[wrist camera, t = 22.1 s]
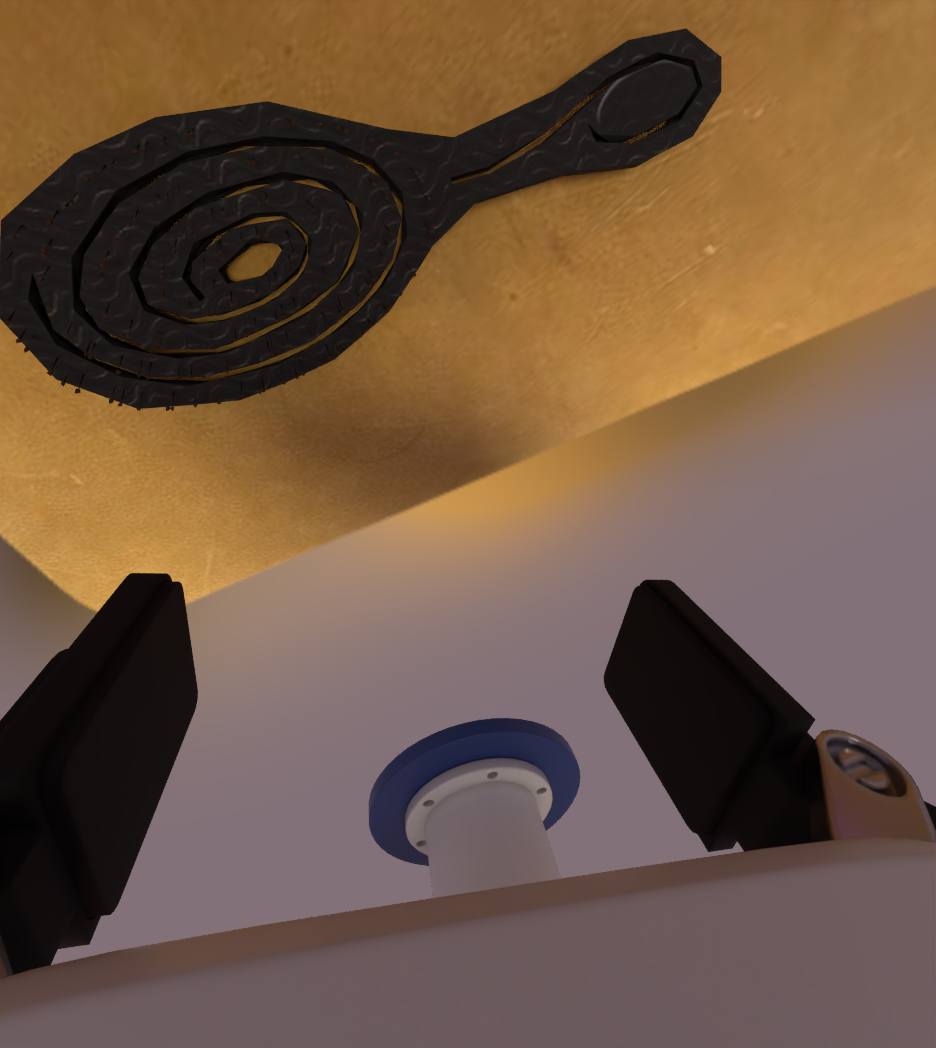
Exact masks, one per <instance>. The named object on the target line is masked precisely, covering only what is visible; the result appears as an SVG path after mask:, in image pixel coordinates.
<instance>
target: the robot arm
mask: <svg viewBox="0 0 936 1048" xmlns="http://www.w3.org/2000/svg"><path fill="white" fill-rule="evenodd" d="M604 684H605V688H606V690H607V692H608V694H609V695H610V697H611V699H612V700H613V702H614V704H615V705H616V707H617V709H618V710H619V712H620V714H621V715H622V717H623V719H624V721H625V722H626V724H627V726H628V727H629V729H630V731H631V732H632V734H633V736H634V737H635V739H636V741H637V742H638V744H639V746H640V747H641V749H642V751H643V752H644V754H645V756H646V757H647V759H648V761H649V762H650V764H651V766H652V767H653V769H654V771H655V773H656V774H657V776H658V777H659V779H660V781H661V783H662V784H663V786H664V788H665V789H666V791H667V793H668V794H669V796H670V797H671V799H672V801H673V803H674V804H675V806H676V808H677V809H678V811H679V813H680V814H681V816H682V818H683V819H684V821H685V823H686V824H687V826H688V827H689V828H690V830H691V831H693V832H694V833H696V834H698V835H699V837H700V839H701V841H702V842H703V844H704V845H705V847H706V849H707V850H708V852H711V851H718V850H725V849H732V848H733V847H734V845H735V843H736V842H737V841H738V843H739V844H740V846H741V847H742V849H743V850H744V852H739V853H732V854H724V855H718V856H711V857H704V858H697V859H691V860H683V861H676V862H669V863H663V864H656V865H649V866H643V867H636V868H629V869H622V870H615V871H609V872H602V873H595V874H589V875H582V876H576V877H569V878H563V879H561V876H560V873H559V870H558V867H557V864H556V861H555V858H554V855H553V852H552V849H551V846H550V843H549V840H548V837H547V834H546V830H545V827H544V824H543V820H544V819H545V818H546V816H547V814H548V812H549V810H550V808H551V804H552V800H553V798H552V790H551V787H550V784H549V782H548V779H547V777H546V776H545V774H544V773H543V772H542V771H541V770H540V769H539V768H538V767H536V766H535V765H532V764H530V763H528V762H526V761H522V760H518V759H513V758H487V759H481V760H476V761H471V762H468V763H465V764H462V765H458V766H456V767H454V768H452V769H449V770H447V771H445V772H443V773H441V774H440V775H438V776H436V777H435V778H433V779H432V780H430V781H429V782H428V783H427V784H425V785H424V786H423V787H422V788H421V789H420V790H419V791H418V792H417V793H416V794H415V796H414V797H413V798H412V800H411V802H410V803H409V805H408V807H407V810H406V814H405V828H406V834H407V838H408V840H409V842H410V843H411V845H412V846H413V847H415V848H416V849H417V850H418V851H420V852H422V853H424V854H426V855H428V860H429V869H430V878H431V886H432V895H433V898H431V899H425V900H419V901H412V902H406V903H400V904H393V905H387V906H382V907H375V908H369V909H362V910H355V911H349V912H343V913H337V914H330V915H325V916H317V917H311V918H305V919H298V920H292V921H286V922H280V923H274V924H267V925H261V926H254V927H249V928H243V929H237V930H232V931H226V932H220V933H215V934H209V935H203V936H197V937H192V938H187V939H181V940H175V941H169V942H163V943H158V944H152V945H146V946H141V947H135V948H129V949H124V950H118V951H113V952H108V953H104V954H99V955H95V956H90V957H86V958H81V959H77V960H73V961H68V962H63V963H59V964H55V965H51V963H52V961H53V958H54V956H55V954H56V952H57V950H58V949H61V948H68V947H74V946H82V945H88V944H90V941H91V939H92V937H93V934H94V932H95V929H96V927H97V925H98V922H99V920H100V917H101V916H103V915H111V914H112V912H114V910H115V908H116V907H117V905H118V903H119V901H120V899H121V896H122V893H123V891H124V888H125V886H126V883H127V881H128V879H129V876H130V873H131V870H132V868H133V866H134V863H135V861H136V858H137V856H138V853H139V851H140V848H141V846H142V843H143V841H144V838H145V835H146V833H147V830H148V828H149V825H150V823H151V820H152V818H153V815H154V813H155V810H156V808H157V805H158V803H159V800H160V798H161V795H162V793H163V790H164V787H165V785H166V782H167V780H168V777H169V775H170V772H171V769H172V767H173V765H174V762H175V760H176V757H177V755H178V752H179V750H180V747H181V744H182V742H183V739H184V737H185V734H186V732H187V729H188V727H189V724H190V722H191V719H192V717H193V714H194V712H195V708H196V704H197V697H198V689H197V682H196V675H195V668H194V661H193V655H192V647H191V640H190V634H189V627H188V620H187V613H186V606H185V599H184V592H183V587H182V584H181V583H180V582H172V579H171V577H170V575H168V574H155V573H132V574H129V575H128V576H127V577H126V578H125V579H124V581H123V582H122V583H121V584H120V585H119V587H118V588H117V589H116V590H115V592H114V593H113V594H112V595H111V597H110V598H109V599H108V600H107V602H106V603H105V604H104V605H103V607H102V608H101V609H100V610H99V611H98V613H97V614H96V615H95V617H94V618H93V619H92V620H91V621H90V623H89V624H88V625H87V626H86V628H85V629H84V630H83V631H82V632H81V634H80V635H79V636H78V637H77V639H76V640H75V641H74V642H73V644H72V645H71V646H70V647H69V649H65V650H63V651H61V652H59V653H58V654H57V655H55V657H53V658H52V659H51V661H50V662H49V663H48V664H47V665H46V666H45V668H44V669H43V670H42V671H41V672H40V674H39V675H38V676H37V677H36V678H35V680H34V681H33V682H32V683H31V684H30V686H29V687H28V688H27V689H26V691H25V692H24V693H23V694H22V695H21V697H20V698H19V699H18V700H17V701H16V703H15V704H14V705H13V706H12V707H11V709H10V710H9V711H8V712H7V714H6V715H5V716H4V717H3V718H2V719H1V721H0V1048H936V807H935V806H933V805H931V804H929V803H927V802H925V801H923V798H922V796H921V793H920V791H919V788H918V786H917V785H916V783H915V781H914V780H913V778H912V776H911V775H910V774H909V773H908V772H907V771H906V770H905V768H904V767H903V766H902V765H901V764H900V763H899V762H897V761H896V760H895V759H894V758H893V757H891V756H890V755H889V754H888V753H886V752H885V751H883V750H882V749H880V748H879V747H877V746H876V745H874V744H873V743H871V742H869V741H867V740H865V739H863V738H861V737H858V736H856V735H853V734H850V733H847V732H844V731H839V730H826V731H822V732H821V733H820V734H819V735H818V736H817V737H816V739H815V740H814V739H813V738H812V737H811V736H810V735H809V734H808V733H807V732H808V730H809V729H810V727H811V725H812V724H813V722H814V721H815V719H814V718H813V717H812V716H811V715H810V714H809V713H808V712H807V711H806V710H805V709H804V708H803V707H802V706H801V705H800V704H799V703H798V702H797V701H796V700H795V699H794V698H793V697H792V696H791V695H789V693H787V692H786V691H785V690H784V689H783V688H782V687H781V686H780V685H779V684H778V683H777V682H776V681H775V680H774V679H773V678H772V677H771V676H770V675H769V674H768V673H767V672H766V671H765V670H764V669H763V668H762V667H761V666H759V664H757V663H756V662H755V661H754V660H753V659H752V658H751V657H750V656H749V655H748V654H747V653H746V652H745V651H744V650H743V649H742V648H741V647H740V646H739V645H738V644H737V643H736V642H734V640H733V639H732V638H731V637H730V636H728V635H727V634H726V633H725V632H724V631H723V630H722V629H721V628H720V627H719V626H718V625H717V624H716V623H715V622H714V621H713V620H712V619H711V618H710V617H709V616H708V615H707V614H706V613H705V612H704V611H703V610H702V609H700V608H699V607H698V606H697V605H696V604H695V603H694V602H693V601H692V600H691V599H690V598H689V597H688V596H687V595H686V594H685V593H684V592H683V591H682V590H681V589H680V588H679V587H678V586H677V585H676V584H675V583H673V582H672V581H670V580H645V581H643V582H642V583H641V584H640V586H638V587H636V588H635V589H634V591H633V594H632V597H631V599H630V602H629V605H628V608H627V611H626V614H625V616H624V619H623V623H622V625H621V628H620V631H619V633H618V636H617V639H616V642H615V645H614V648H613V651H612V653H611V656H610V659H609V662H608V665H607V668H606V670H605V674H604Z"/></svg>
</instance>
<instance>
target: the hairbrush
mask: <svg viewBox="0 0 936 1048" xmlns="http://www.w3.org/2000/svg"><path fill="white" fill-rule="evenodd" d="M647 62H650V63H651V64H648V65H646V66H643V67H640V68H638V67H639V66H641V65H643V64H645V63H647ZM636 68H637V69H636ZM630 71H631V72H630ZM623 75H624V76H623ZM621 76H622V77H621ZM618 78H619V79H618ZM616 79H617V80H616ZM614 80H615V81H614ZM612 81H614V82H613V83H611V82H612ZM609 83H611V84H610V85H609V86H608V87H606V88H605V89H604V90H603V91H601V92H600V93H599V94H598V95H596V96H595V97H594V98H593V99H591V100H590V101H589V102H588V103H587V104H585V105H584V106H583V107H582V108H581V109H579V110H578V111H577V112H576V113H575V114H574V115H573V116H572V117H571V118H569V119H568V120H567V121H566V122H565V123H564V124H563V125H562V126H561V127H559V128H558V129H557V130H556V131H555V132H554V133H553V134H552V135H550V136H549V137H548V138H547V139H546V140H545V141H544V142H543V143H541V144H540V145H538V146H536V147H535V148H533V149H532V150H530V151H528V152H527V153H525V154H523V155H522V156H520V157H518V158H516V159H515V160H513V161H511V162H509V163H508V164H506V165H504V166H502V167H500V168H499V169H497V170H495V171H493V172H492V173H490V174H486V175H483V176H479V177H476V178H473V179H469V180H466V181H462V182H459V183H455V184H452V182H451V181H455V180H458V179H461V178H465V177H468V176H472V175H475V174H478V173H482V172H485V171H488V170H490V169H491V168H493V167H494V166H496V165H497V164H499V163H500V162H502V161H503V160H505V159H506V158H508V157H509V156H511V155H512V154H514V153H516V152H517V151H519V150H520V149H522V148H523V147H525V146H526V145H528V144H529V143H531V142H532V141H534V140H535V139H536V138H538V137H539V136H541V135H542V134H544V133H545V132H547V131H548V130H549V129H550V128H551V127H552V126H554V125H555V124H556V123H557V122H558V121H559V120H560V119H561V118H563V117H564V116H565V115H566V114H567V113H568V112H569V111H570V110H572V109H573V108H574V107H575V106H576V105H577V104H578V103H579V102H581V101H582V100H583V99H584V98H585V97H586V96H587V95H589V94H591V93H593V92H595V91H596V90H598V89H600V88H602V87H604V86H605V85H607V84H609ZM720 93H721V56H719V55H718V54H717V53H716V52H714V51H713V50H712V49H711V48H709V47H708V46H707V45H706V44H704V43H703V42H702V41H701V40H699V39H698V38H697V37H696V36H695V35H693V34H692V33H691V32H690V31H688V30H687V29H682V30H677V31H672V32H667V33H662V34H657V35H652V36H647V37H642V38H637V39H632V40H628V41H626V42H625V43H623V44H622V45H620V46H619V47H617V48H616V49H614V50H613V51H611V52H610V53H608V54H607V55H605V56H604V57H602V58H600V59H599V60H597V61H596V62H594V63H593V64H591V65H590V66H588V67H587V68H585V69H584V70H582V71H581V72H579V73H578V74H577V75H575V76H574V77H573V78H571V79H570V80H568V81H567V82H566V83H564V84H563V85H561V86H560V87H559V88H557V89H556V90H555V91H553V92H551V93H548V94H546V95H544V96H542V97H540V98H538V99H536V100H533V101H531V102H529V103H527V104H525V105H523V106H521V107H518V108H516V109H514V110H512V111H510V112H508V113H505V114H503V115H501V116H499V117H497V118H495V119H493V120H490V121H488V122H486V123H484V124H482V125H480V126H478V127H475V128H473V129H471V130H469V131H467V132H465V133H463V134H460V135H458V136H456V137H446V136H438V135H430V134H422V133H414V132H406V131H398V130H390V129H384V128H380V127H376V126H371V125H367V124H363V123H358V122H354V121H350V120H345V119H341V118H337V117H332V116H328V115H324V114H319V113H315V112H311V111H306V110H302V109H298V108H293V107H289V106H285V105H280V104H276V103H272V102H260V103H253V104H246V105H239V106H232V107H225V108H218V109H211V110H204V111H197V112H190V113H183V114H176V115H169V116H161V117H155V118H153V119H151V120H148V121H146V122H144V123H142V124H140V125H137V126H135V127H133V128H131V129H129V130H126V131H124V132H122V133H120V134H118V135H115V136H113V137H111V138H109V139H106V140H104V141H102V142H100V143H98V144H95V145H93V146H91V147H89V148H87V149H84V150H82V151H80V152H78V153H76V154H74V155H73V156H71V157H70V158H69V159H68V160H67V161H66V162H65V163H64V164H63V165H62V166H60V167H59V168H58V169H57V170H56V171H55V172H54V173H53V174H52V175H51V176H49V177H48V178H47V179H46V180H45V181H44V182H43V183H42V184H41V185H40V186H38V187H37V188H36V189H35V190H34V191H33V192H32V193H31V194H30V195H29V196H27V197H26V198H25V199H24V200H23V201H22V202H21V203H20V204H19V205H17V206H16V207H15V208H14V209H13V210H12V211H11V212H10V213H9V214H8V215H6V216H5V217H4V218H3V219H2V220H1V237H0V319H1V320H2V321H3V322H4V323H5V324H6V325H7V326H8V328H9V329H10V330H11V331H12V332H13V333H14V334H15V335H16V336H17V337H18V338H19V339H17V340H16V343H19V342H22V343H23V344H24V345H25V346H26V347H25V349H24V351H25V352H27V351H29V350H30V351H31V352H32V354H33V355H34V356H35V357H36V358H37V359H38V360H39V361H40V362H41V363H42V364H43V366H44V367H45V368H46V369H47V370H48V372H47V373H48V374H49V375H50V376H51V375H53V376H54V377H55V379H57V380H60V381H62V382H61V385H62V386H64V385H65V383H68V384H71V385H74V386H76V387H79V388H82V389H85V390H87V391H90V392H93V393H96V394H98V395H101V396H104V397H107V398H110V399H109V403H110V404H111V403H112V402H114V401H113V400H115V401H118V402H120V403H119V405H118V406H122V403H123V404H126V405H129V406H132V407H134V408H137V410H139V411H140V409H143V408H156V407H166V411H167V410H169V409H171V410H172V411H173V410H174V407H171V408H170V407H169V406H183V405H194V407H196V406H197V404H206V403H216V402H217V403H218V404H221V402H226V401H236V400H242V399H244V398H247V397H249V396H252V395H255V394H257V393H260V394H261V392H265V390H268V389H271V388H273V387H276V386H279V385H281V384H285V383H286V382H288V381H290V380H292V379H294V378H296V379H298V377H299V376H300V375H303V376H304V374H305V373H307V372H309V371H311V370H313V369H315V368H317V367H319V366H322V365H324V364H326V363H328V362H330V361H332V360H334V359H336V358H337V357H338V356H339V355H340V354H341V353H342V352H344V351H345V350H346V349H347V348H348V347H349V346H351V345H352V344H353V343H354V342H355V341H356V340H357V339H359V338H360V337H362V335H363V334H364V333H365V332H367V331H368V330H369V329H370V328H372V326H374V325H375V324H376V323H377V322H378V321H379V320H380V319H381V318H382V317H383V316H385V315H386V314H387V313H388V312H389V311H390V309H391V308H392V306H393V305H394V303H395V302H396V300H397V299H398V297H399V296H401V295H402V294H403V293H402V292H403V290H404V289H405V287H406V286H407V284H408V283H409V281H410V280H411V278H412V277H413V276H414V277H415V276H416V271H417V270H418V268H419V267H420V265H421V264H422V262H423V260H424V259H425V257H426V256H427V254H428V252H429V251H430V249H431V248H432V246H433V245H434V244H435V243H436V242H437V241H438V240H439V239H440V238H441V237H442V236H443V235H444V234H445V233H446V232H447V231H448V230H449V229H450V228H451V227H452V226H453V225H454V224H455V223H456V222H457V221H458V220H459V219H460V218H461V217H462V216H463V215H464V214H465V213H466V212H467V211H468V210H469V209H470V208H471V207H472V206H473V205H474V204H476V203H479V202H482V201H485V200H488V199H491V198H495V197H498V196H501V195H504V194H507V193H510V192H513V191H516V190H519V189H523V188H526V187H529V186H532V185H535V184H538V183H541V182H544V181H547V180H551V179H554V178H557V177H560V176H568V175H576V174H584V173H593V172H601V171H609V170H617V169H625V168H633V167H637V166H638V165H640V164H642V163H644V162H645V161H647V160H649V159H651V158H652V157H654V156H656V155H658V154H659V153H661V152H663V151H665V150H668V149H670V148H672V147H674V146H676V145H677V144H679V143H681V142H683V141H685V140H687V139H689V138H691V137H692V136H693V135H694V133H695V132H696V130H697V129H698V127H699V126H700V124H701V123H702V121H703V119H704V118H705V116H706V115H707V113H708V112H709V110H710V108H711V107H712V105H713V104H714V102H715V101H716V99H717V98H718V96H719V94H720ZM671 117H672V119H671V121H670V122H669V123H668V124H667V125H665V126H663V127H662V128H660V129H658V130H657V131H655V132H653V133H652V134H650V135H648V136H647V137H645V138H643V139H641V140H638V141H636V142H634V143H623V142H625V141H627V140H629V139H631V138H633V137H635V136H637V135H639V134H642V133H644V132H647V131H650V130H651V129H653V128H655V127H656V126H658V125H660V124H661V123H663V122H665V121H666V120H668V119H670V118H671ZM596 141H599V142H596ZM241 146H258V147H254V148H249V149H245V150H240V151H235V152H231V153H226V154H222V155H218V154H221V153H224V152H227V151H230V150H233V149H235V148H238V147H241ZM268 146H324V147H327V148H330V149H315V148H291V147H268ZM339 152H340V153H342V154H345V155H347V156H350V157H353V158H355V159H358V160H360V161H363V162H365V163H368V164H371V165H372V166H373V168H374V169H375V170H376V171H377V172H378V174H379V175H380V176H381V177H382V178H383V179H382V178H380V177H378V176H377V175H375V174H373V173H372V172H370V171H368V170H367V168H366V167H365V166H364V165H361V164H358V163H355V162H354V161H352V160H350V159H349V158H347V157H345V156H344V155H342V154H340V153H339ZM215 155H217V156H215ZM168 171H170V172H168ZM165 172H168V173H167V174H165V175H163V176H162V177H160V178H159V179H157V180H156V181H154V182H152V183H151V184H149V185H148V186H146V187H145V188H143V189H141V188H142V187H143V186H144V185H146V184H147V183H148V182H149V181H150V180H151V179H152V178H154V177H155V176H156V175H159V174H162V173H165ZM304 179H313V180H316V181H318V182H319V183H321V184H323V185H324V186H326V187H327V188H329V189H331V190H332V191H334V192H332V191H328V190H325V189H322V188H318V187H313V186H310V185H305V184H300V183H296V182H292V181H295V180H304ZM269 183H273V184H269ZM260 184H269V185H266V186H263V187H260V188H256V189H253V190H250V191H247V192H244V193H240V194H237V195H234V196H231V197H228V198H224V199H221V200H218V201H215V200H217V199H219V198H221V197H223V196H226V195H228V194H230V193H232V192H234V191H237V190H239V189H241V188H243V187H245V186H251V185H260ZM390 188H391V189H392V190H393V192H394V193H395V194H396V195H397V196H398V198H399V199H400V200H401V201H402V204H403V215H402V237H401V245H400V248H399V250H398V253H397V256H396V259H395V261H394V264H393V265H392V267H391V269H390V270H389V272H388V274H387V276H386V277H385V279H384V281H383V282H382V284H381V286H380V287H379V289H378V290H377V291H376V292H375V293H374V294H373V295H372V296H371V298H370V299H369V300H368V301H367V302H366V303H365V304H364V305H363V306H362V307H361V309H360V310H359V311H357V312H356V313H355V314H354V315H353V316H351V317H350V318H349V319H348V320H347V321H345V322H344V323H343V324H342V325H341V326H339V327H338V328H337V329H336V330H335V331H333V332H332V333H331V334H330V335H329V336H327V337H326V338H324V339H323V340H321V341H319V342H317V343H316V344H314V345H312V346H310V347H308V348H307V349H305V350H303V351H301V352H299V353H296V354H294V355H292V356H290V357H288V358H286V359H283V360H281V361H279V362H276V363H273V364H270V365H267V366H264V367H261V368H257V369H254V370H250V371H246V372H243V373H239V374H235V375H232V376H228V377H224V378H220V379H216V380H210V381H195V380H165V379H152V378H150V377H176V378H177V379H180V378H181V377H189V378H193V377H207V376H211V375H215V374H219V373H223V372H226V373H227V374H228V373H229V371H231V370H234V371H235V369H239V368H243V367H247V366H251V365H255V364H259V363H261V362H263V361H266V360H268V359H270V358H273V357H275V356H277V355H280V354H282V353H285V352H287V351H289V350H292V349H294V348H296V347H299V346H301V345H303V344H306V343H308V342H311V341H313V340H314V339H315V338H316V337H318V336H319V335H320V334H322V333H323V332H324V331H326V330H327V329H328V328H329V327H330V326H332V325H333V324H334V323H335V322H337V321H338V320H339V319H340V318H342V317H343V316H344V315H345V314H347V313H348V312H349V311H350V310H352V309H353V308H354V307H355V306H357V305H358V304H359V303H360V302H362V300H363V299H364V298H365V297H366V295H367V294H368V293H369V291H370V290H371V289H372V288H373V286H374V285H375V283H376V282H377V281H378V280H379V278H380V277H381V275H382V274H383V272H384V270H385V269H386V267H387V266H388V264H389V263H390V262H391V260H392V258H393V254H394V249H395V246H396V243H397V236H398V231H399V227H400V222H401V216H400V213H399V211H398V208H397V205H396V203H395V200H394V197H393V195H392V192H391V190H390ZM140 189H141V190H140ZM139 190H140V191H139ZM136 192H137V193H136ZM344 198H345V199H347V200H348V201H350V202H351V203H353V204H354V205H355V208H356V212H357V217H358V221H359V226H360V231H361V235H360V241H359V247H358V251H357V254H356V256H355V259H354V262H353V263H352V265H351V266H350V268H349V270H348V271H347V273H346V274H345V276H344V277H343V279H342V280H341V282H340V283H339V285H338V286H337V287H336V288H335V289H333V290H332V291H331V292H330V293H329V294H328V295H327V296H326V297H325V298H324V299H323V300H322V301H321V302H320V303H318V304H317V305H316V306H315V307H314V308H313V309H312V310H311V311H309V312H307V313H305V314H303V315H301V316H299V317H297V318H295V319H293V320H291V321H289V322H288V323H286V324H284V325H282V326H280V327H278V328H276V329H274V330H272V331H270V332H268V333H266V334H264V335H263V336H261V337H259V338H257V339H255V340H253V341H251V342H248V343H246V344H244V345H241V346H238V347H235V348H232V349H229V350H226V351H223V352H218V353H176V354H161V353H151V352H148V351H146V350H143V349H141V348H139V347H136V346H134V345H131V344H129V343H126V342H124V341H121V340H119V339H116V338H114V337H111V336H110V335H109V334H108V333H110V334H113V335H115V336H118V337H120V338H123V339H125V340H128V341H130V342H133V343H135V344H137V345H140V346H142V347H145V348H147V349H186V350H188V349H189V350H196V349H216V348H219V347H221V346H224V345H228V344H230V343H233V342H235V341H237V340H239V339H242V338H244V337H247V336H248V335H251V334H253V333H255V332H258V331H260V330H262V329H264V328H266V327H269V326H271V325H273V324H275V323H278V322H280V321H282V320H284V319H287V318H288V317H290V316H292V315H293V314H295V313H296V312H298V311H299V310H301V309H303V308H304V307H306V306H307V305H308V304H310V303H311V302H312V301H314V300H315V299H316V298H318V297H319V296H320V295H321V294H323V293H324V292H325V291H327V290H328V289H329V288H331V287H332V286H333V285H334V284H336V283H337V282H338V280H339V279H340V277H341V275H342V273H343V272H344V270H345V268H346V266H347V263H348V260H349V257H350V255H351V252H352V249H353V246H354V243H355V240H356V238H357V235H358V232H359V229H358V227H357V224H356V222H355V219H354V217H353V214H352V212H351V209H350V207H349V205H348V204H347V202H346V201H345V200H344ZM212 201H215V202H212ZM210 202H212V203H210ZM188 212H190V213H189V214H187V215H186V216H185V217H184V218H183V219H182V220H180V221H179V222H178V223H177V224H176V225H175V226H173V227H172V228H171V229H170V230H169V231H168V232H167V233H165V234H164V232H165V231H166V229H167V228H168V226H169V225H170V223H171V222H172V221H173V220H175V219H176V218H177V217H180V216H182V215H184V214H186V213H188ZM109 216H110V217H109ZM266 216H284V217H286V219H280V220H275V221H269V222H263V223H257V224H251V225H246V226H243V227H240V228H236V229H233V230H230V231H228V232H227V233H225V234H224V235H223V236H222V237H221V238H220V239H218V240H217V241H216V242H215V243H214V244H212V245H211V246H210V247H209V248H208V249H207V250H205V251H204V252H203V253H202V254H201V255H199V254H200V253H201V252H202V251H203V249H204V248H205V247H206V246H207V245H208V243H209V242H210V241H211V240H212V239H213V237H214V236H215V235H218V234H220V233H222V232H224V231H226V230H229V229H231V228H233V227H235V226H237V225H240V224H242V223H244V222H246V221H248V220H250V219H253V218H255V217H266ZM108 217H109V218H108ZM107 218H108V220H107V221H106V223H105V224H104V222H105V220H106V219H107ZM287 218H288V219H290V220H292V221H293V222H295V223H296V224H297V225H298V226H299V227H300V228H301V229H302V231H303V232H304V233H305V234H306V235H307V236H308V261H307V263H306V266H305V268H304V271H303V272H302V273H301V275H300V276H299V277H298V279H297V280H296V281H295V282H294V283H293V284H291V285H290V286H289V287H288V288H287V289H286V290H285V291H284V292H282V293H281V294H280V295H279V296H278V297H276V298H274V299H272V300H271V301H269V302H267V303H266V304H264V305H262V306H259V307H257V308H255V309H252V310H250V311H247V312H245V313H243V314H240V315H238V316H235V317H231V318H228V319H225V320H219V321H212V322H205V323H193V322H185V321H178V320H175V319H173V318H170V317H167V316H164V315H163V314H161V313H160V312H158V311H157V310H155V309H154V308H152V307H151V306H153V307H155V308H158V309H160V310H163V311H166V312H170V313H173V314H175V315H179V316H183V317H186V318H189V319H193V318H199V317H205V316H213V315H221V314H226V313H228V312H231V311H234V310H237V309H239V308H242V307H245V306H248V305H250V304H253V303H256V302H259V301H260V300H262V299H263V298H265V297H266V296H267V295H269V294H270V293H272V292H273V291H275V290H276V289H278V288H279V287H280V286H282V285H283V284H285V283H286V282H288V281H289V280H290V279H291V278H293V277H294V276H295V275H296V274H298V272H299V270H300V267H301V265H302V263H303V261H304V258H305V256H306V253H307V244H306V242H305V239H304V236H303V234H302V233H301V232H300V231H299V230H298V229H297V228H296V227H295V226H294V225H292V224H291V222H290V221H289V220H288V219H287ZM103 224H104V226H103ZM102 226H103V227H102ZM101 228H102V229H101ZM163 234H164V235H163ZM162 235H163V236H162ZM259 243H275V244H278V245H279V247H280V248H281V249H282V251H281V253H280V255H279V256H278V258H277V260H276V262H275V263H274V265H273V267H272V268H270V269H269V270H268V271H267V272H266V273H265V274H264V275H263V276H260V277H256V278H252V279H247V280H243V281H239V282H235V283H234V282H232V281H230V280H229V279H228V277H227V275H226V273H225V271H224V269H225V267H226V265H227V264H228V263H230V262H231V261H232V260H233V259H235V258H236V257H237V256H239V255H240V254H241V253H242V252H244V251H245V250H246V249H248V248H249V247H250V246H252V245H255V244H259ZM198 255H199V256H198ZM197 256H198V257H197ZM145 260H146V261H145ZM144 261H145V263H144ZM143 263H144V265H143V268H142V270H141V272H140V268H141V266H142V264H143ZM191 264H192V271H191V278H190V276H189V273H188V271H187V269H188V267H189V266H190V265H191ZM193 284H194V285H195V286H196V287H197V288H198V289H199V291H200V292H201V293H202V294H203V295H204V296H205V297H204V296H201V295H199V294H198V293H197V292H196V291H195V288H194V286H193ZM143 292H144V293H143ZM144 295H145V297H146V300H147V302H148V304H147V303H146V302H145V299H144ZM86 308H87V310H88V311H89V313H90V314H89V313H88V312H87V311H86ZM107 332H108V333H107ZM94 358H95V359H94ZM96 359H98V360H101V361H104V362H107V363H110V364H113V365H116V366H119V368H117V367H115V366H112V365H109V364H106V363H104V362H101V361H98V360H96ZM120 367H122V368H125V369H128V370H131V371H134V372H137V374H138V373H140V374H138V375H137V374H134V373H131V372H128V371H126V370H123V369H120ZM141 374H143V375H145V376H146V377H144V376H141ZM79 388H78V389H76V390H75V393H80V390H81V389H79Z"/></svg>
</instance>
